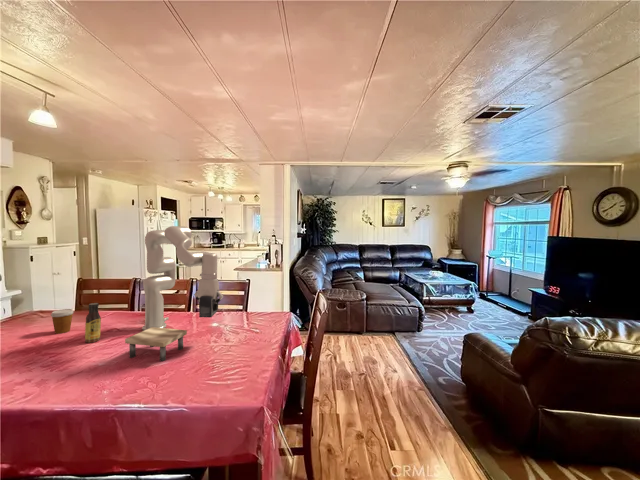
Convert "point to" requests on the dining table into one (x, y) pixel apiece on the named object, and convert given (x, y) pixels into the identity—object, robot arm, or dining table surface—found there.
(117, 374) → the dining table surface
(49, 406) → the dining table surface
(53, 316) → the disposable coffee cup
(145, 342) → the peg shelf
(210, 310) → the small box
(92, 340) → the sauce bottle
